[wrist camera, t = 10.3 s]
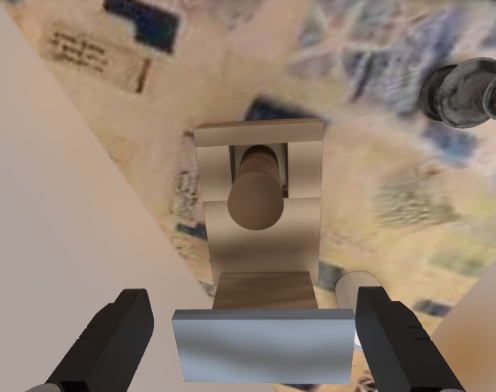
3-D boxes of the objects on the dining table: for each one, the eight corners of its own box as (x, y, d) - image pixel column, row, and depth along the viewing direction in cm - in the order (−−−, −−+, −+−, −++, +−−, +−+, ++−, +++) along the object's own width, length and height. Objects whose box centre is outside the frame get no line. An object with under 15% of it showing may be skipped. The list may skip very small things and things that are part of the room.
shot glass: (380, 308, 37) (404, 354, 31) (328, 308, 38) (342, 354, 31) (386, 266, 35) (413, 307, 28) (331, 267, 36) (346, 307, 29)
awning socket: (198, 124, 30) (136, 156, 15) (319, 116, 29) (374, 144, 14) (216, 266, 36) (184, 381, 22) (315, 264, 35) (349, 384, 21)
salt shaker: (418, 130, 29) (516, 157, 18) (413, 72, 27) (520, 60, 16) (479, 114, 28) (622, 131, 17) (479, 52, 26) (641, 24, 15)
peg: (243, 180, 31) (229, 231, 20) (240, 145, 30) (224, 179, 19) (278, 178, 31) (284, 229, 20) (277, 143, 30) (283, 177, 18)
